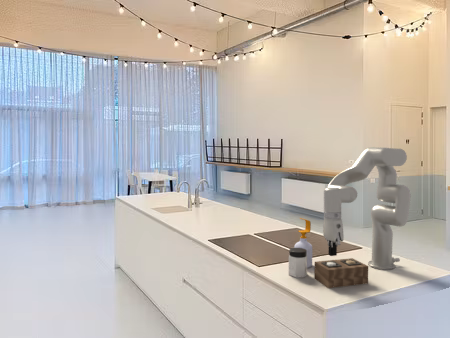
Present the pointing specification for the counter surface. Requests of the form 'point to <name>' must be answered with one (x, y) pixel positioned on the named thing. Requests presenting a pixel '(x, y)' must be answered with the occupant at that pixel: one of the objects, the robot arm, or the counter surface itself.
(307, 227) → the soap bottle
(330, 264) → the white peg
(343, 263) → the walnut block
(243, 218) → the counter surface
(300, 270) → the jar
